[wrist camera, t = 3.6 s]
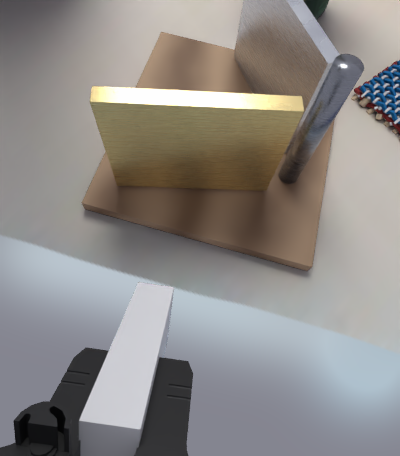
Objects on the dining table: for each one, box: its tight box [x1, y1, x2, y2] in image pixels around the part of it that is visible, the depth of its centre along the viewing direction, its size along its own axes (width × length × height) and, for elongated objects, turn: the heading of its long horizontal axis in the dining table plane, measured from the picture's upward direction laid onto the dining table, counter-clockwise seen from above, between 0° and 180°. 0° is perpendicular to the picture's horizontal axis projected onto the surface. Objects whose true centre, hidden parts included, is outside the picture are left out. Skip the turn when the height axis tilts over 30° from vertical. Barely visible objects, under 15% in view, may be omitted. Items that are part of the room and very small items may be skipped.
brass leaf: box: [90, 86, 304, 191], centre depth 26 cm, size 13×1×10 cm, turn 90°
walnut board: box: [82, 32, 334, 271], centre depth 34 cm, size 20×22×1 cm
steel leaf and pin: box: [234, 0, 364, 184], centre depth 29 cm, size 16×3×14 cm, turn 20°
